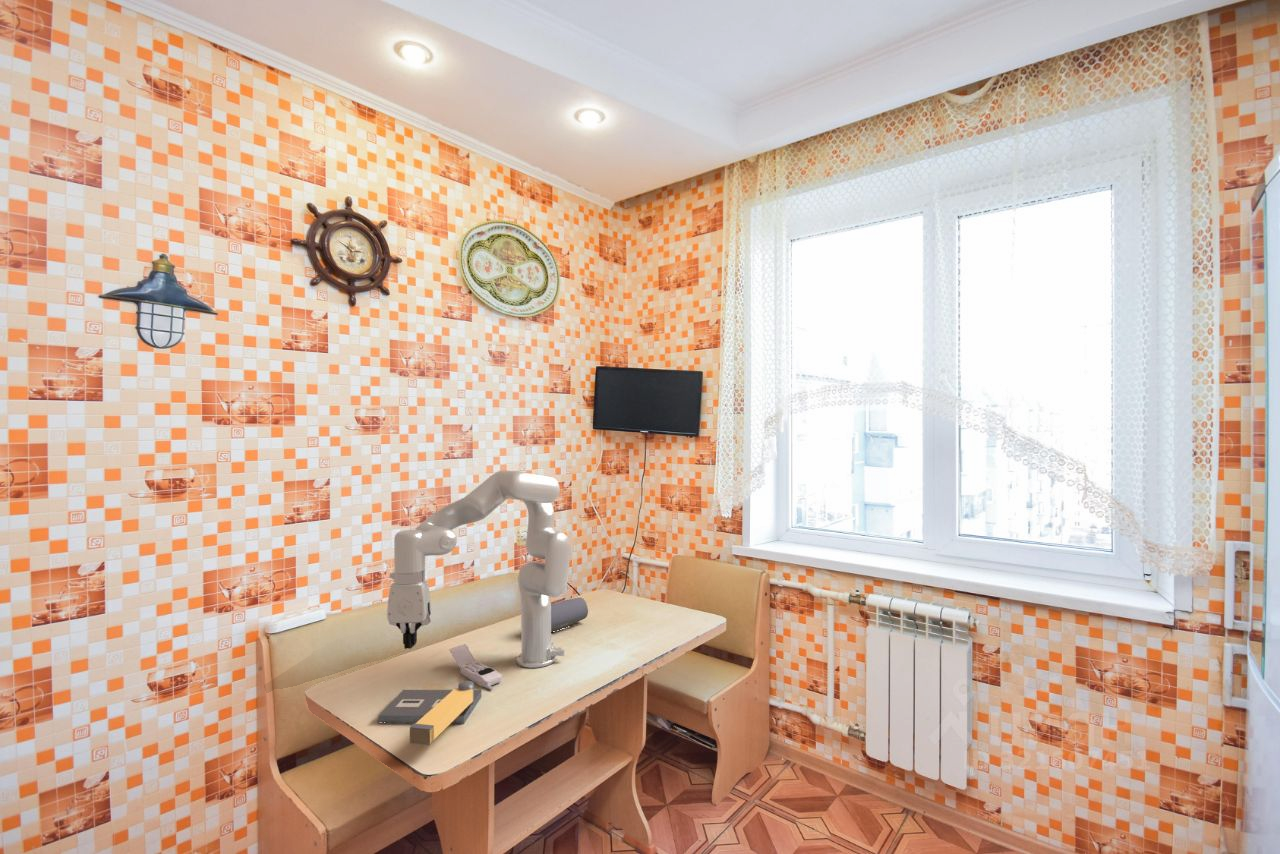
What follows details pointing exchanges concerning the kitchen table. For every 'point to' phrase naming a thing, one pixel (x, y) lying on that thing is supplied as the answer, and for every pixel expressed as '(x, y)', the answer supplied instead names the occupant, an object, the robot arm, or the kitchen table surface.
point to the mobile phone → (474, 668)
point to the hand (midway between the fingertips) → (409, 646)
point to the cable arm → (442, 714)
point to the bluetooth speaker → (567, 613)
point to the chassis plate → (420, 706)
